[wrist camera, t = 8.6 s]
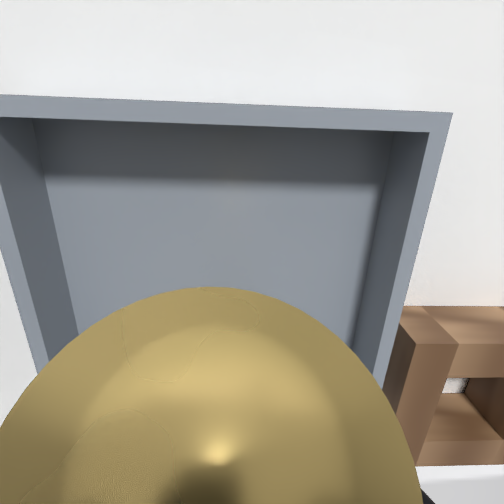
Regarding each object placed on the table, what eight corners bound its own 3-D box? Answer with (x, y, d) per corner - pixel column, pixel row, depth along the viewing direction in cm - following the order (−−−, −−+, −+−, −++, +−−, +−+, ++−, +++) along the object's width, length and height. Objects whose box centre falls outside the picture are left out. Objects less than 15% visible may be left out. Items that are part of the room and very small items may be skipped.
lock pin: (273, 456, 13) (493, 852, 2) (178, 461, 13) (-149, 948, 2) (268, 357, 15) (379, 284, 4) (183, 360, 14) (22, 289, 3)
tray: (81, 367, 17) (50, 416, 14) (20, 99, 12) (-47, 92, 9) (354, 366, 17) (376, 412, 15) (405, 115, 13) (452, 112, 10)
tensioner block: (359, 417, 19) (380, 467, 16) (385, 305, 16) (416, 343, 13) (484, 415, 19) (525, 464, 17) (532, 306, 16) (592, 343, 14)
